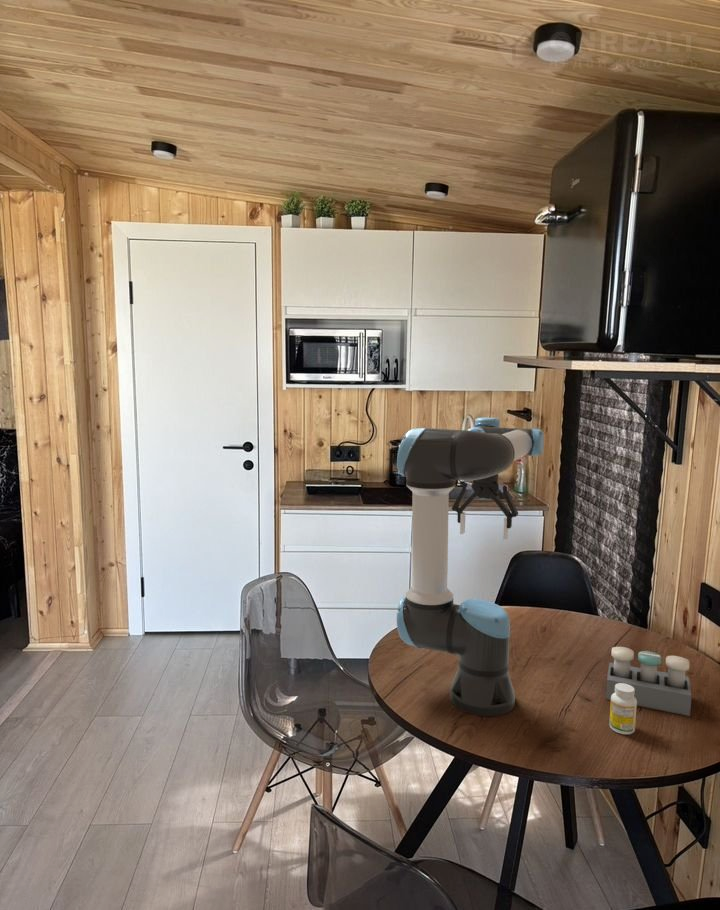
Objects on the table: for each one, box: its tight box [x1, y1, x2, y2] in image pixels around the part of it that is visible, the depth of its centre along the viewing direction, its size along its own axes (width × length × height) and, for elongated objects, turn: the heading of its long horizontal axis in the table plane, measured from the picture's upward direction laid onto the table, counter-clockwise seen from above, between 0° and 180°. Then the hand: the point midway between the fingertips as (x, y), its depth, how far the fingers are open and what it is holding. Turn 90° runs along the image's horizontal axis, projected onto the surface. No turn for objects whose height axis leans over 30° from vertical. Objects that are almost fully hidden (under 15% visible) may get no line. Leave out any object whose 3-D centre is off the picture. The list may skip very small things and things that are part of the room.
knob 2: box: [665, 655, 690, 689], centre depth 150 cm, size 5×5×6 cm
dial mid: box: [637, 650, 662, 684], centre depth 152 cm, size 5×5×7 cm
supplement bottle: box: [609, 683, 638, 736], centre depth 139 cm, size 5×5×10 cm
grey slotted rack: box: [605, 662, 692, 717], centre depth 153 cm, size 10×18×5 cm, turn 66°
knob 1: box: [610, 646, 635, 679], centre depth 155 cm, size 5×5×6 cm
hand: (483, 535), depth 196 cm, fingers open, 13 cm apart
